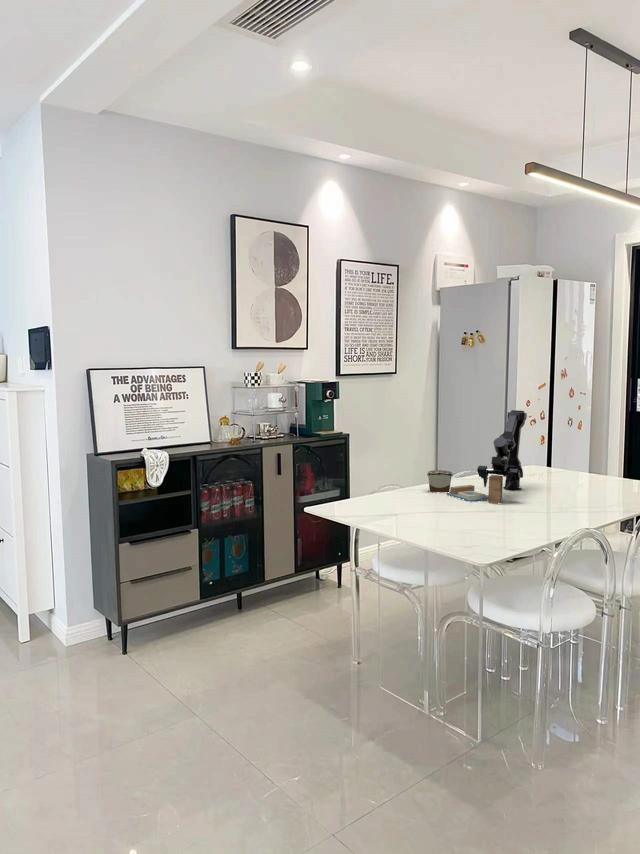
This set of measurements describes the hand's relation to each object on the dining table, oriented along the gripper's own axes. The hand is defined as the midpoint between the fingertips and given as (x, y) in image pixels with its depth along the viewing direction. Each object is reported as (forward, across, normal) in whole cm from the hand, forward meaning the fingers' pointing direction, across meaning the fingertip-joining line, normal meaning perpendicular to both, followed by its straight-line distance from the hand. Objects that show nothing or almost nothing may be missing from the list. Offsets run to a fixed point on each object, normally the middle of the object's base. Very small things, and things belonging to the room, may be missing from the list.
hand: (494, 487), depth 309 cm
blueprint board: (0, -13, +10) cm, 16 cm away
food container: (-4, -30, +13) cm, 33 cm away
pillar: (+4, 0, +6) cm, 7 cm away
